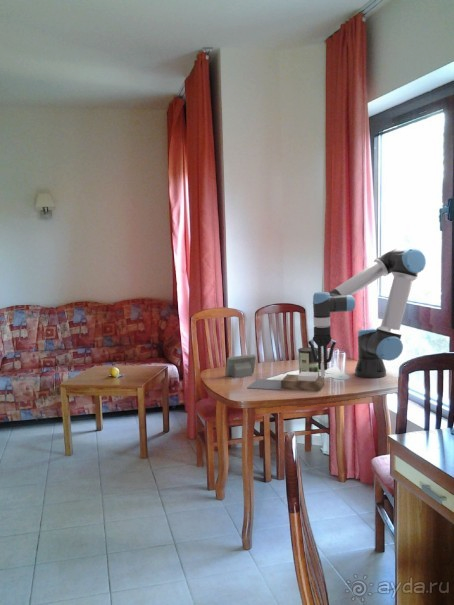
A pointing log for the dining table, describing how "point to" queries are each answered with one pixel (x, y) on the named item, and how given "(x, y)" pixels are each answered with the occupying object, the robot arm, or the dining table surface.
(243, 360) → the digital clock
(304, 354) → the coffee can
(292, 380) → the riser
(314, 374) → the coaster
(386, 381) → the dining table surface
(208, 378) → the dining table surface
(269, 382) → the mat
